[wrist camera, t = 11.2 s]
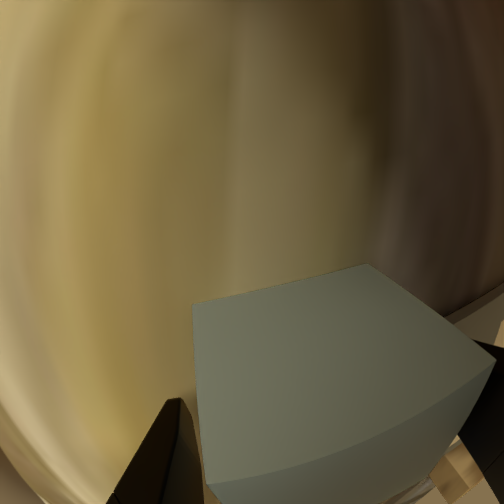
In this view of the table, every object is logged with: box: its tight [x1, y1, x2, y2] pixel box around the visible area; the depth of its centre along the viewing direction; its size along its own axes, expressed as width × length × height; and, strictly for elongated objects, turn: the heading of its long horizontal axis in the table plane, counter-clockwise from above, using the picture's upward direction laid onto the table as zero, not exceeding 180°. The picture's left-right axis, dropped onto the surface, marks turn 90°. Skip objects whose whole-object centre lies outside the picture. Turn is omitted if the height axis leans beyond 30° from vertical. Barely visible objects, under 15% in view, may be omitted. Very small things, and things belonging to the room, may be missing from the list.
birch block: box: [429, 443, 484, 504], centre depth 16 cm, size 6×6×6 cm
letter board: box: [442, 283, 504, 457], centre depth 13 cm, size 18×18×1 cm
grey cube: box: [192, 263, 496, 504], centre depth 6 cm, size 5×5×5 cm
